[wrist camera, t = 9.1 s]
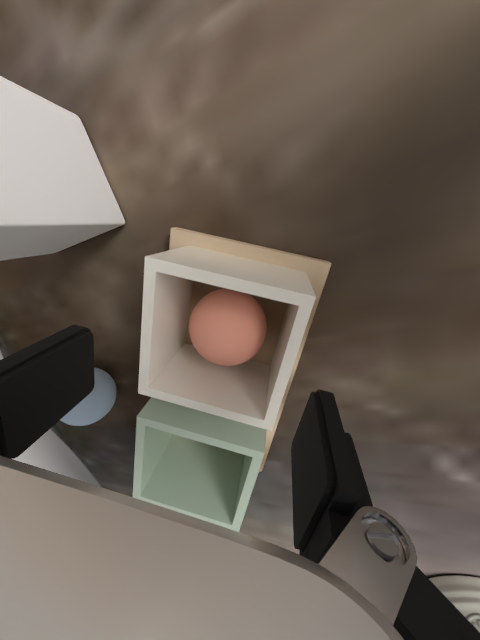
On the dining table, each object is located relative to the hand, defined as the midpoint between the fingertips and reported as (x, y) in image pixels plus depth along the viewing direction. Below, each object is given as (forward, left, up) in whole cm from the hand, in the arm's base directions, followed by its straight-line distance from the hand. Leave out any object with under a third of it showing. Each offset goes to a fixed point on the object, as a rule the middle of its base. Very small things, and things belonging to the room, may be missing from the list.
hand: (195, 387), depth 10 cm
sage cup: (+10, 0, -9) cm, 14 cm away
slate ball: (+10, -11, -10) cm, 19 cm away
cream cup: (0, 0, -9) cm, 9 cm away
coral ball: (0, 0, -9) cm, 9 cm away
